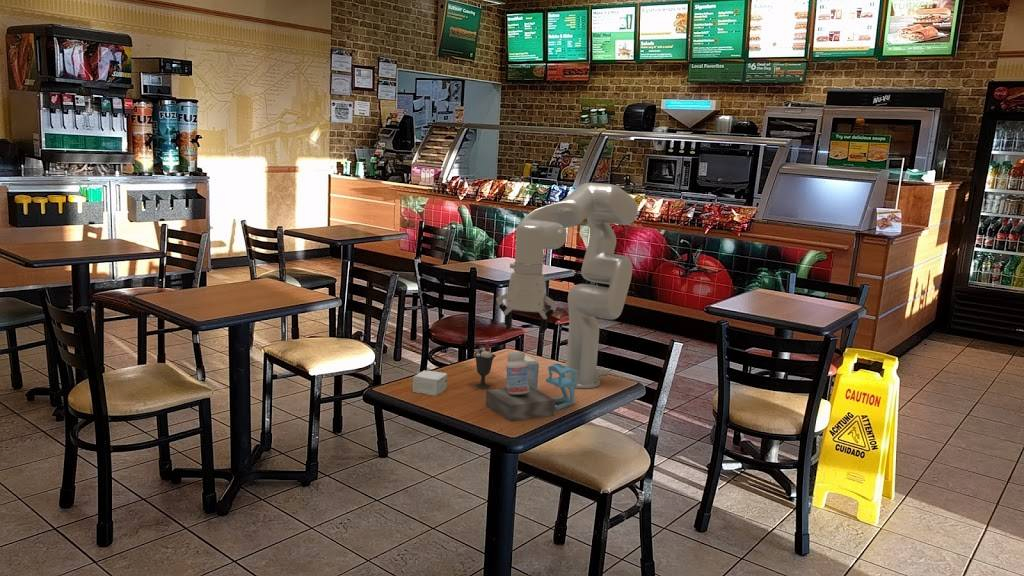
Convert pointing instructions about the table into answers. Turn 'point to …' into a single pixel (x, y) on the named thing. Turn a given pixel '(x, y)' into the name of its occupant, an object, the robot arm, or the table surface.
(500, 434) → the table surface
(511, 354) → the pill bottle
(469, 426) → the table surface
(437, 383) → the small box
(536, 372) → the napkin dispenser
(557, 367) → the chair
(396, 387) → the table surface
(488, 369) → the sundae
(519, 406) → the riser block
